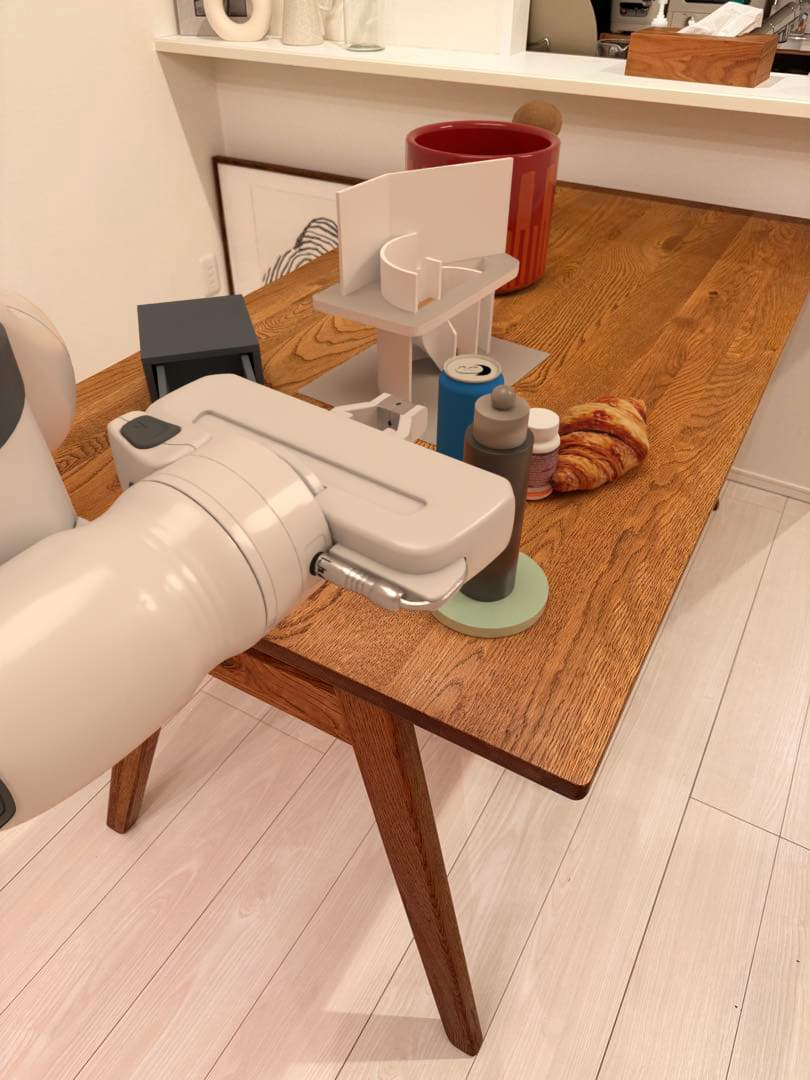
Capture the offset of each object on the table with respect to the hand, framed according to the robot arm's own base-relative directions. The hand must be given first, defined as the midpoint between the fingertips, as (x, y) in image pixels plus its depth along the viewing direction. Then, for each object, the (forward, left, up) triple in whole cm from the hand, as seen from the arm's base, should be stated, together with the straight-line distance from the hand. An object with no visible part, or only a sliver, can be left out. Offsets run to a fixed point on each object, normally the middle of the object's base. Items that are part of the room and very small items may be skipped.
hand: (407, 410), depth 45 cm
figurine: (+55, +103, -24) cm, 119 cm away
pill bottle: (+20, +20, -24) cm, 37 cm away
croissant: (+29, +24, -24) cm, 45 cm away
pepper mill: (+9, +7, -23) cm, 26 cm away
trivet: (+9, +7, -24) cm, 27 cm away
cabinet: (-11, +51, -24) cm, 57 cm away
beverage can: (+14, +26, -24) cm, 38 cm away
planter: (+35, +79, -24) cm, 90 cm away
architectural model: (+17, +48, -24) cm, 56 cm away
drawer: (-11, +38, -23) cm, 46 cm away
